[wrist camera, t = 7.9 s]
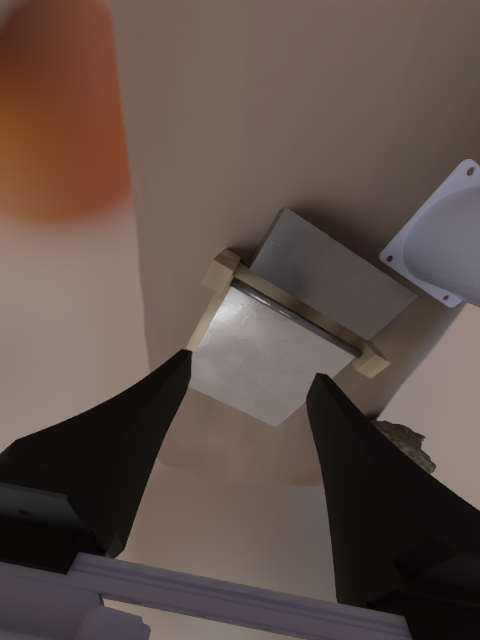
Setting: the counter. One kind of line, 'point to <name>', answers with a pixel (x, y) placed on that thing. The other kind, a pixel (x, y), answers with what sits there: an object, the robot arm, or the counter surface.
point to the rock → (406, 442)
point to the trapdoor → (291, 321)
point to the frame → (230, 267)
